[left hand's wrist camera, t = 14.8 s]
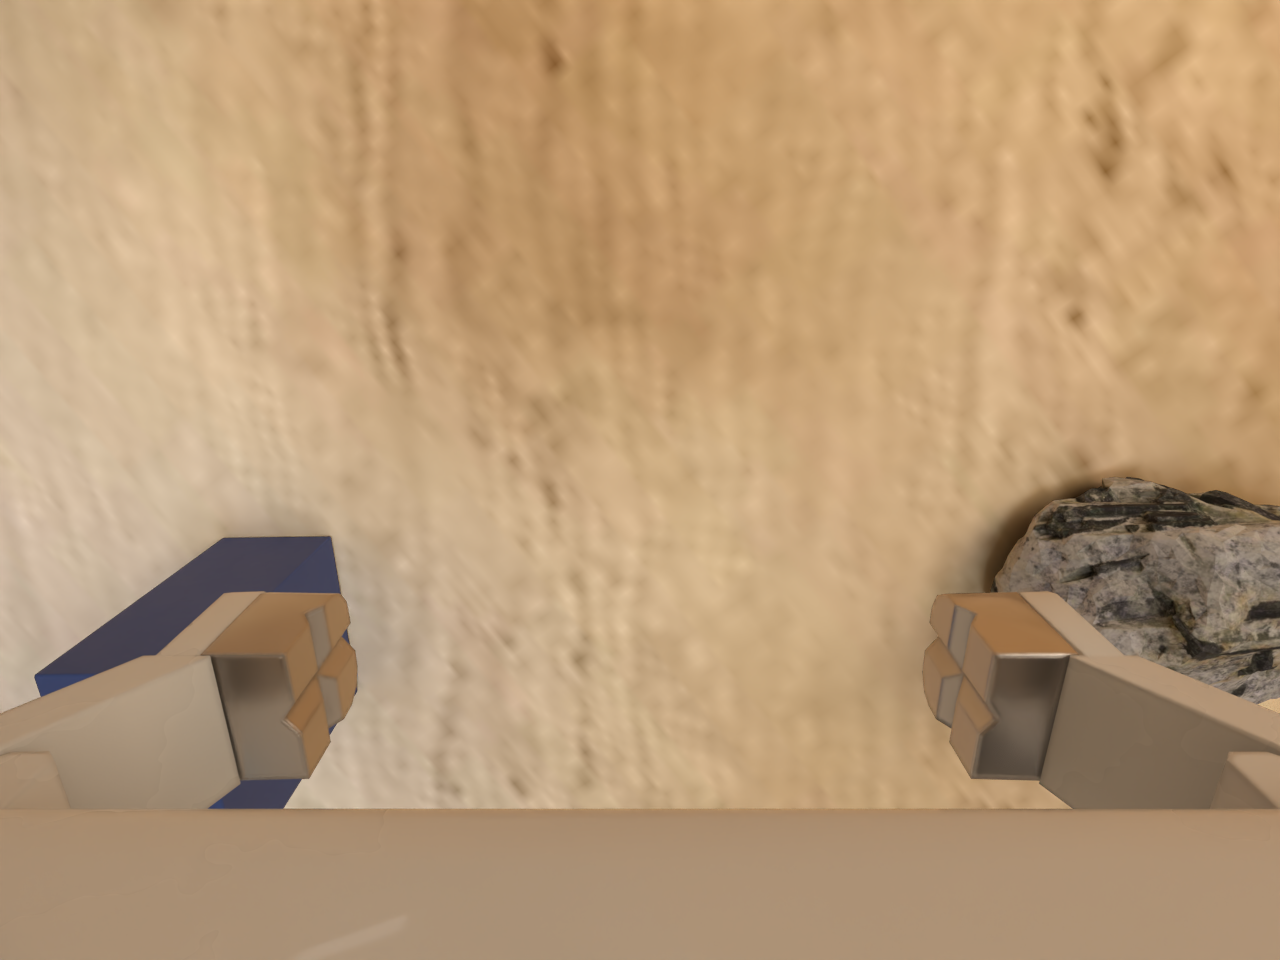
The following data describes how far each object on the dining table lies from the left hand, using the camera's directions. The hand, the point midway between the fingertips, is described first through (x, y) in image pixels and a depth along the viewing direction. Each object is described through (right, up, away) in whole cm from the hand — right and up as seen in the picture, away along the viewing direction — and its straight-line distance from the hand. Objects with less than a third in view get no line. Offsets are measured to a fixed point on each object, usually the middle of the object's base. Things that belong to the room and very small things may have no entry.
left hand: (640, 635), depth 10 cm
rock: (+23, -2, +24) cm, 33 cm away
